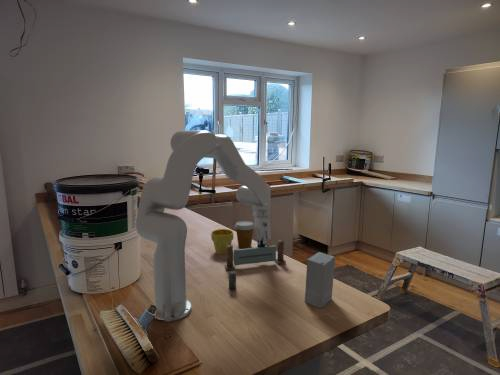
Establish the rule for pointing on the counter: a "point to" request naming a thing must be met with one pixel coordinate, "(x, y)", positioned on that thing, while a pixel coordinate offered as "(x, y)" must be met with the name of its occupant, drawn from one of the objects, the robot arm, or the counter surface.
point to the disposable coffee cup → (244, 233)
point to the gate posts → (231, 267)
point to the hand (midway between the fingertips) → (261, 253)
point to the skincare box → (319, 279)
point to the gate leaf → (254, 255)
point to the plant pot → (222, 240)
